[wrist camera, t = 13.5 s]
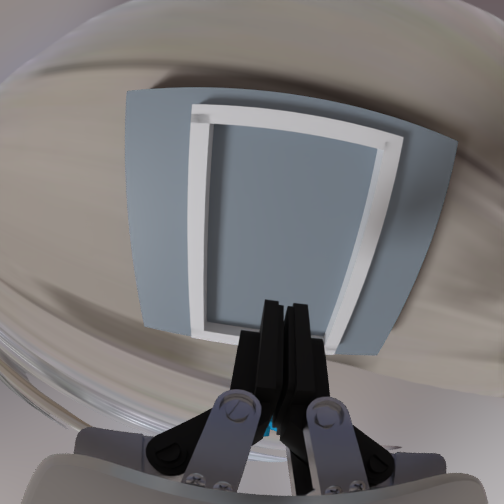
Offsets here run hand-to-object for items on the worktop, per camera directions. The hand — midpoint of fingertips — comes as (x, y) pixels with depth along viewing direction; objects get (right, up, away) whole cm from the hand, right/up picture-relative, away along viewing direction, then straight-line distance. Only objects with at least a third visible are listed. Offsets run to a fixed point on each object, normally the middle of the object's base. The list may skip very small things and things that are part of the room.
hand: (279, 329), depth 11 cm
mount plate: (+1, +5, +8) cm, 9 cm away
